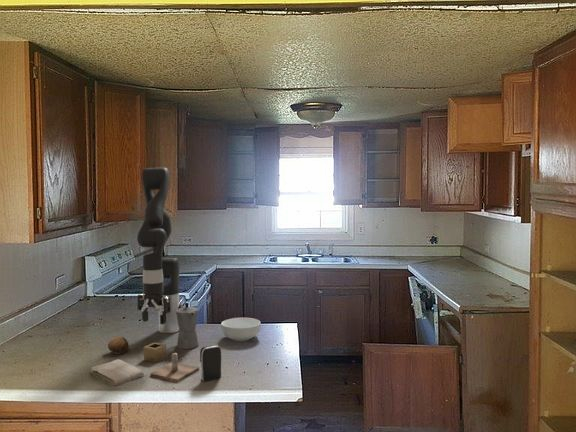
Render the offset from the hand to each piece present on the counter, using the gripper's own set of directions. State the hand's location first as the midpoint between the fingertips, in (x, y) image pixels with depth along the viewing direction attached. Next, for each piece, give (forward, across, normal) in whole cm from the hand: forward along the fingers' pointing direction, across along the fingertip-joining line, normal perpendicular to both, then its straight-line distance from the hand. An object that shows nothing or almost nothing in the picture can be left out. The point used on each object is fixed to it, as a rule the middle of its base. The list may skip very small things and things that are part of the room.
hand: (154, 322), depth 193 cm
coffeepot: (+14, -1, -18) cm, 23 cm away
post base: (+14, -16, +8) cm, 23 cm away
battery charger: (+15, -30, +6) cm, 34 cm away
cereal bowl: (+14, -17, -35) cm, 42 cm away
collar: (+14, 0, 0) cm, 14 cm away
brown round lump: (+14, +18, +1) cm, 23 cm away
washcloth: (+15, +2, +18) cm, 23 cm away
